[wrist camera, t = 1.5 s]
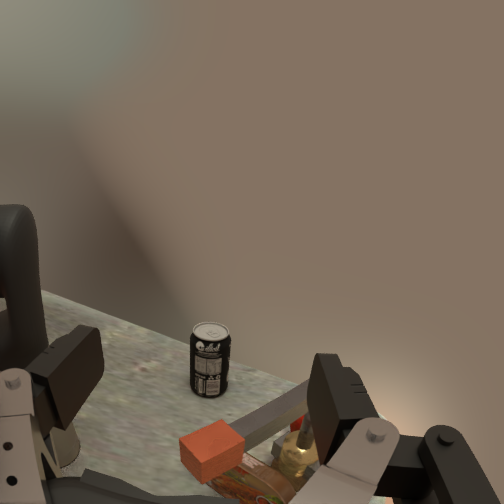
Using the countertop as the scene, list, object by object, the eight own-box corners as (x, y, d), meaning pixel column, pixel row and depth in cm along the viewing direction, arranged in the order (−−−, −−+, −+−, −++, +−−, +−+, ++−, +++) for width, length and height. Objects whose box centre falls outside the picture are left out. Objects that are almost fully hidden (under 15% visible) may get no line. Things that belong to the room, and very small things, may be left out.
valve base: (323, 478, 33) (356, 404, 29) (299, 498, 30) (330, 427, 26) (286, 452, 38) (307, 376, 34) (261, 469, 35) (278, 393, 31)
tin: (186, 468, 34) (183, 430, 31) (202, 457, 36) (202, 418, 34) (277, 531, 25) (290, 503, 23) (292, 515, 27) (307, 484, 25)
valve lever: (316, 385, 32) (322, 362, 31) (337, 398, 30) (345, 374, 29) (180, 461, 20) (178, 437, 20) (202, 486, 18) (202, 464, 17)
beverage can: (211, 372, 56) (214, 317, 53) (234, 390, 52) (240, 333, 49) (183, 383, 52) (182, 326, 48) (205, 404, 47) (206, 345, 44)
